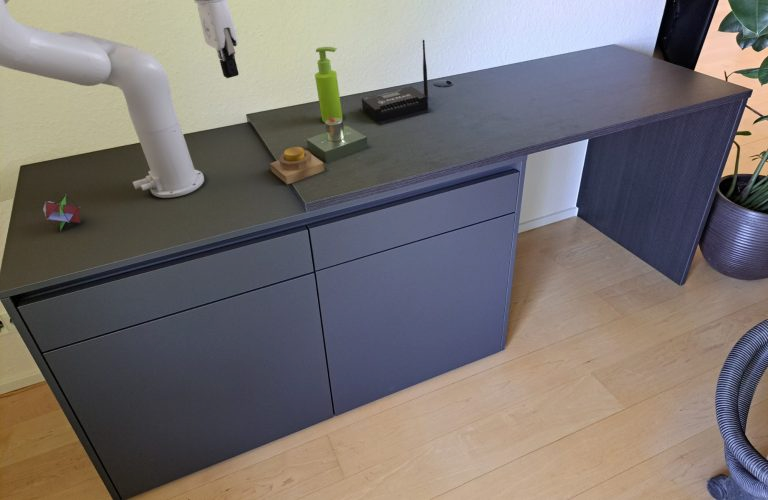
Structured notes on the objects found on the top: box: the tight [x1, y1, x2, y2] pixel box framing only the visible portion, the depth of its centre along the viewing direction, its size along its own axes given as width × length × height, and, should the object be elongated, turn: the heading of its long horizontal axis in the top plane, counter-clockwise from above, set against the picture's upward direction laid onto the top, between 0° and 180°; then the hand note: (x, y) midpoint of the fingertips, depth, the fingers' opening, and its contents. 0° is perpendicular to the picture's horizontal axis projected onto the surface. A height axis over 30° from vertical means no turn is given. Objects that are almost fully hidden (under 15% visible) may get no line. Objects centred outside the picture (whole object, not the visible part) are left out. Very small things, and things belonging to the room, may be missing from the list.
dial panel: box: [306, 125, 369, 163], centre depth 142 cm, size 12×10×3 cm
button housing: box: [269, 149, 325, 185], centre depth 134 cm, size 10×9×4 cm
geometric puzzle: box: [42, 194, 81, 232], centre depth 122 cm, size 7×7×8 cm
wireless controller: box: [360, 39, 431, 126], centre depth 156 cm, size 20×14×17 cm
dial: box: [324, 117, 345, 141], centre depth 140 cm, size 4×4×5 cm
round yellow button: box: [283, 146, 305, 161], centre depth 132 cm, size 5×5×2 cm
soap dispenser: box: [314, 46, 343, 123], centre depth 154 cm, size 6×7×20 cm
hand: (231, 75), depth 132 cm, fingers closed
